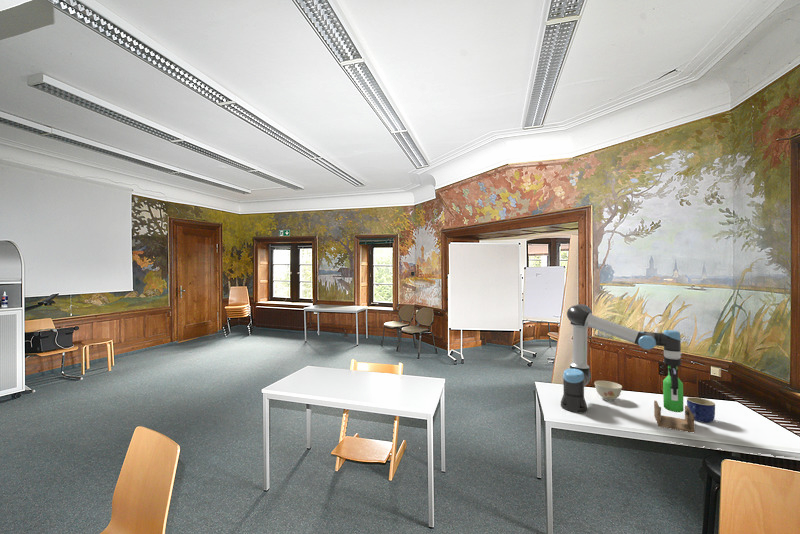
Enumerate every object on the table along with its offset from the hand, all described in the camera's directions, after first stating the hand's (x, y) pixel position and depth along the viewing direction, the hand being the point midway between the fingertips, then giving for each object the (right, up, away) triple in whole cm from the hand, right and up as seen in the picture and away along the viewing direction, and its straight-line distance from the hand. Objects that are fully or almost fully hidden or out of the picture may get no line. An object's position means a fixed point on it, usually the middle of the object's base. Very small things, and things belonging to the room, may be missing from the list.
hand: (673, 397), depth 189 cm
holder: (0, -15, 0) cm, 15 cm away
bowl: (-14, -16, +37) cm, 43 cm away
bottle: (0, -7, 0) cm, 7 cm away
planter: (+21, -15, +6) cm, 27 cm away
